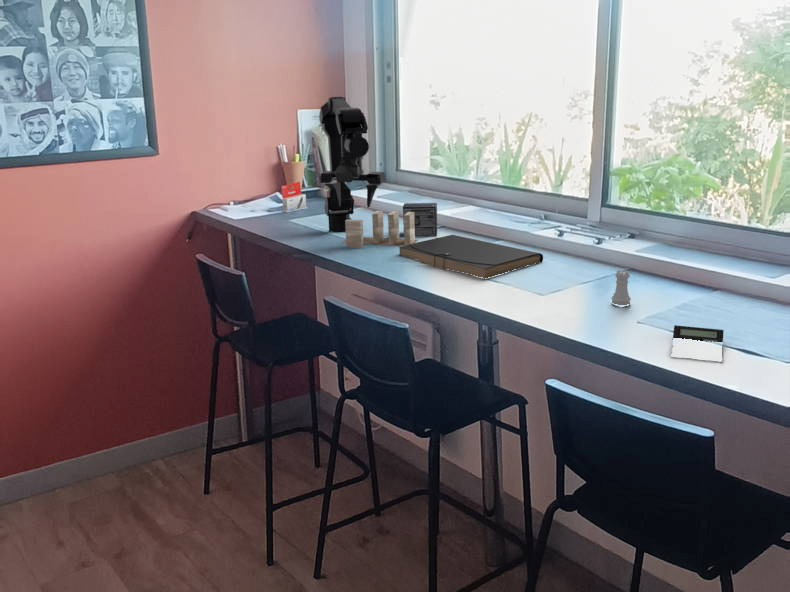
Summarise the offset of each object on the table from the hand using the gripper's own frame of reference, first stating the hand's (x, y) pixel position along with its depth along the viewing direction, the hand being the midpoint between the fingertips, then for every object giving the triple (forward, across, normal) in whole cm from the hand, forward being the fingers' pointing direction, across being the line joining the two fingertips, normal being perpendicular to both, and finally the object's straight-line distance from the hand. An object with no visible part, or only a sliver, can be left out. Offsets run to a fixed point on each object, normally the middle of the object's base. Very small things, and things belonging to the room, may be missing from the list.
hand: (353, 206), depth 240 cm
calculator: (+15, +94, -61) cm, 113 cm away
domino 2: (+12, +4, +8) cm, 16 cm away
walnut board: (+13, +5, +8) cm, 16 cm away
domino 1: (+13, 0, 0) cm, 13 cm away
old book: (+14, +36, -4) cm, 39 cm away
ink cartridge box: (+13, -44, +52) cm, 69 cm away
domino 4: (+12, +14, +8) cm, 21 cm away
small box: (+13, +14, +20) cm, 28 cm away
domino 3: (+12, +9, +8) cm, 17 cm away
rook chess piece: (+14, +78, -36) cm, 87 cm away
